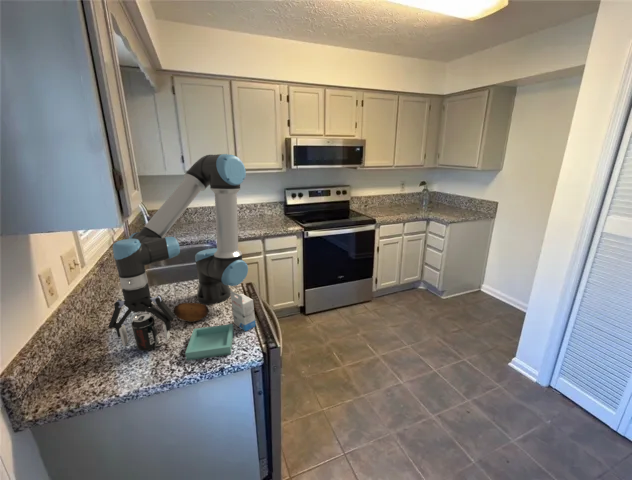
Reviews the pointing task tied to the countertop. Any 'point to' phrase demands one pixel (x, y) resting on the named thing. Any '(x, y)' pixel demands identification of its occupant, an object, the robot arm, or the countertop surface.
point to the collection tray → (210, 342)
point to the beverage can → (145, 331)
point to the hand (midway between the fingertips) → (147, 340)
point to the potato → (191, 311)
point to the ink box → (243, 311)
